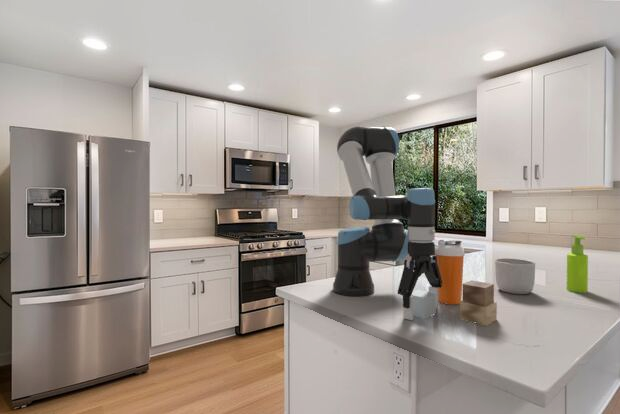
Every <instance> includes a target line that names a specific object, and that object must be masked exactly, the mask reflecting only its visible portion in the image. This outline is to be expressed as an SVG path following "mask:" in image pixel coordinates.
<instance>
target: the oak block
mask: <svg viewBox="0 0 620 414" xmlns="http://www.w3.org/2000/svg"><path fill="white" fill-rule="evenodd" d="M462 301H463V300H461V301H460V304H459V319H460V320H462V319H463V321H466V320H468V321H467V322H470V321H472V322H471V323H473V322H476V323H475V324H477V323H479V324H478V325H481V324H483V325H482V326H485V325H486V326H485V327H487V326H489V325H491V324H492V323H493V321H494V322H495V321H497V320H496V319H497V315H498V311H497V309H498V308H497V307H498V305H497V301H494V302H493V303H491V304H489V305H487V306H485V307H484V306H480V305H475V304H471V303H467V302H462ZM491 322H492V323H491ZM488 324H489V325H488Z"/></svg>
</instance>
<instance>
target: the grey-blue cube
mask: <svg viewBox="0 0 620 414" xmlns="http://www.w3.org/2000/svg"><path fill="white" fill-rule="evenodd" d="M411 296H413V317H416V318H420V319H423V320H426V319H429V318H431V317H432V316H431V315H433V314H435V313H436V314H437V310H436V294H433V293H429V291H428V292H427V291H425V290H418V289H417V290H413V292H412V295H411ZM436 314H435V315H436ZM430 316H431V317H430ZM433 316H434V315H433ZM428 317H429V318H428Z"/></svg>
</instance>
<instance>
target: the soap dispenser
mask: <svg viewBox="0 0 620 414" xmlns="http://www.w3.org/2000/svg"><path fill="white" fill-rule="evenodd" d="M572 237H573V239H574V242H573V244H571V247H570V248H571V251H570V253H567V254H566V290H567V291H568V292H572V293H580V294H584V293H588V291H589V290H588V289H589V288H588V284H589V283H588V280H589V278H588V276H589V273H588V270H589V269H588V267H589V266H588V264H589V256H588V255H587V254H584V244H581V240H585V236H582V235H572Z"/></svg>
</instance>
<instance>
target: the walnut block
mask: <svg viewBox="0 0 620 414" xmlns="http://www.w3.org/2000/svg"><path fill="white" fill-rule="evenodd" d="M494 291H495V284H494V283H489V282H484V281H477V280H473V279H472V280H469V281H466V282H464V283H462V300H461V301H462V302H467V303H471V304H475V305H480V306H484V307H485V306H487V305H489V304H491V303H493V302H495V300H494V299H495V292H494Z"/></svg>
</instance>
